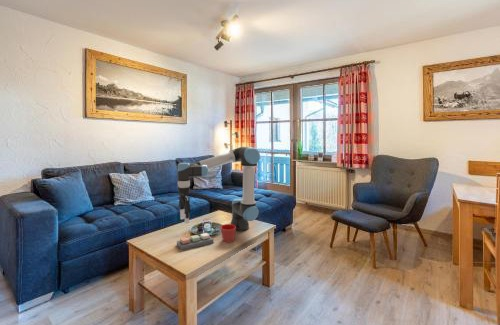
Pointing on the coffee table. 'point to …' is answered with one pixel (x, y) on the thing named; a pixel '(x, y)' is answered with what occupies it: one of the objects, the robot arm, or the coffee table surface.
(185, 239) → the key terracotta
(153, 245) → the coffee table surface
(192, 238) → the key sage
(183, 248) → the grey rectangular tray
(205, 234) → the key ivory
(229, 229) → the flower pot
